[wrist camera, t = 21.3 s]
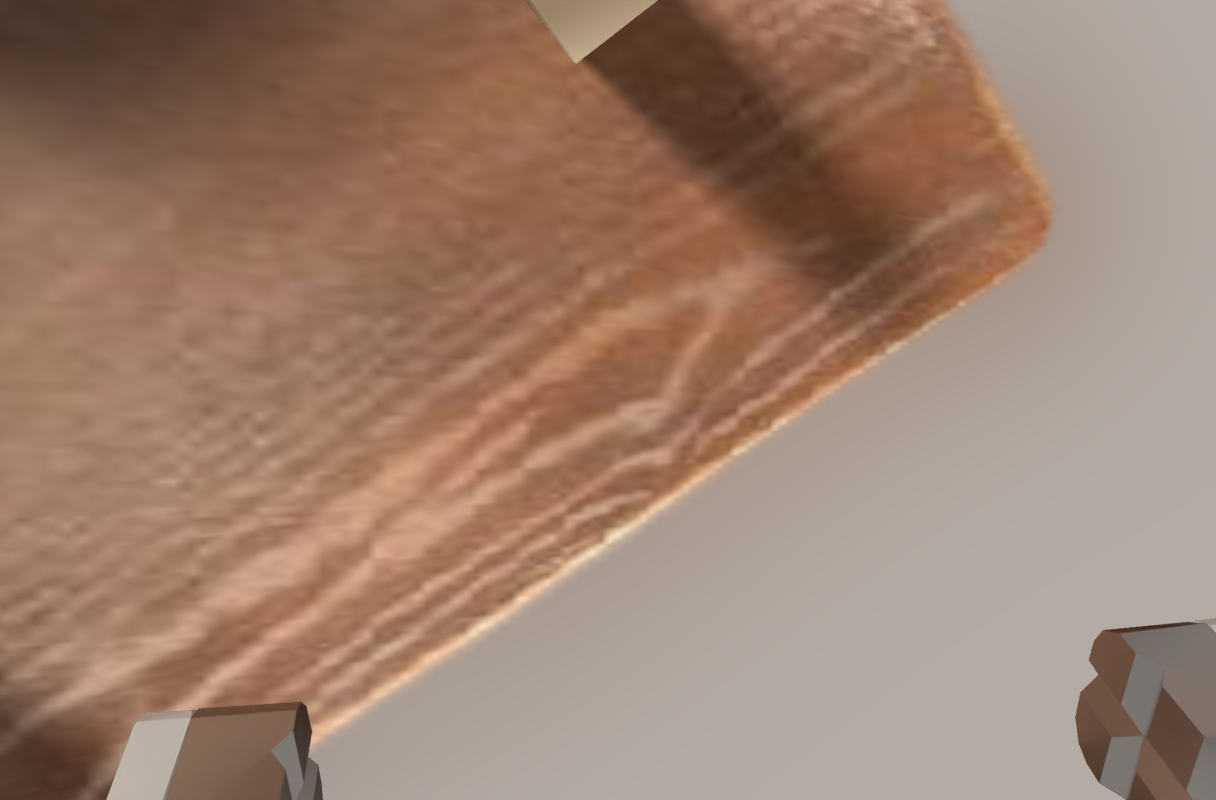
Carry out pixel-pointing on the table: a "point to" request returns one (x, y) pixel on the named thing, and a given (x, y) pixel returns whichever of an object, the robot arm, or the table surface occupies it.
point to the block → (586, 21)
